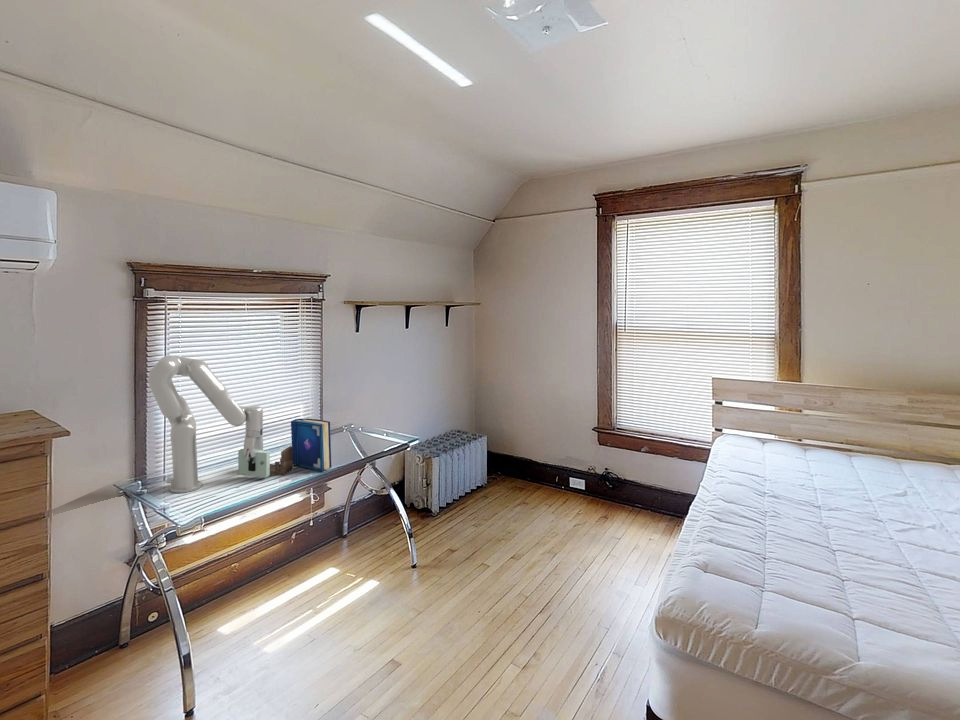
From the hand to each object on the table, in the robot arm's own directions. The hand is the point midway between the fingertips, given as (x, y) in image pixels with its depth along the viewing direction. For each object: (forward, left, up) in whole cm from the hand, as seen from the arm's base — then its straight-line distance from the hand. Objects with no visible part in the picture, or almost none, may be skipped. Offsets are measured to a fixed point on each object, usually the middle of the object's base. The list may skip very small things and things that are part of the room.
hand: (254, 469), depth 232 cm
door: (0, 0, -3) cm, 3 cm away
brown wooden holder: (+3, +10, -5) cm, 12 cm away
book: (+20, +19, -5) cm, 28 cm away
